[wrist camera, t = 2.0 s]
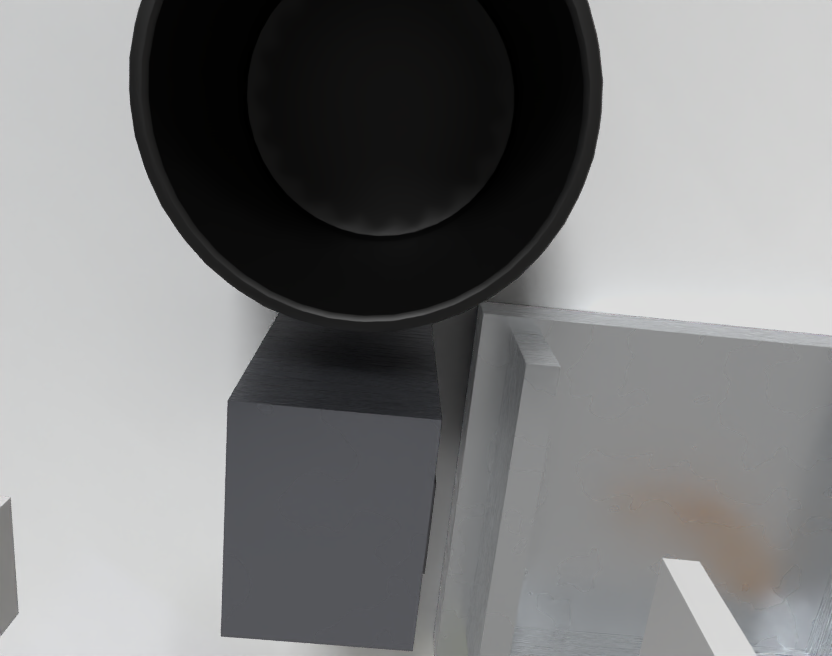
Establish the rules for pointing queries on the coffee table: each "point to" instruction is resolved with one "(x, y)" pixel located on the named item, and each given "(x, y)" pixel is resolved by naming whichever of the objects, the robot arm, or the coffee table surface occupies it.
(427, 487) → the dark gray box
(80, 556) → the coffee table surface
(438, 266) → the mug
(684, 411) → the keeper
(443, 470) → the coffee table surface
